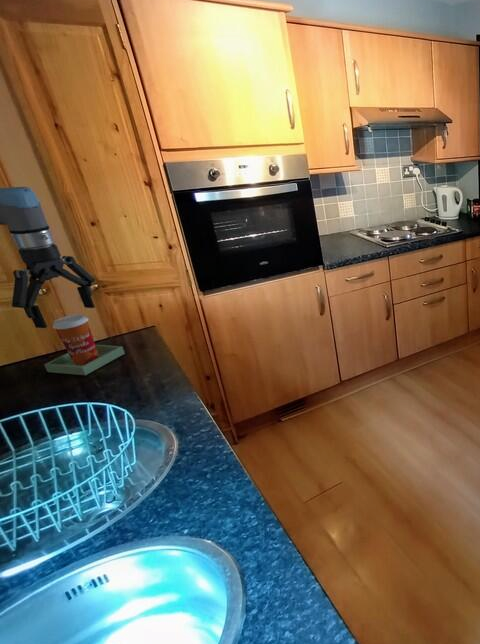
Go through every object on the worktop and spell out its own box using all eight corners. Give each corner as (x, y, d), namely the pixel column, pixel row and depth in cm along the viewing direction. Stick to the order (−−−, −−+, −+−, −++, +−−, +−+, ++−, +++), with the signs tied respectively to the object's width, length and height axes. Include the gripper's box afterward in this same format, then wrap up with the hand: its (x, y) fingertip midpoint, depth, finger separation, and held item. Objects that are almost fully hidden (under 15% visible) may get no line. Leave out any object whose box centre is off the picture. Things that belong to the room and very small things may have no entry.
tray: (47, 372, 132) (43, 364, 131) (89, 350, 143) (86, 343, 142) (85, 375, 130) (82, 367, 129) (125, 353, 142) (122, 346, 141)
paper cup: (69, 370, 131) (49, 327, 126) (70, 359, 137) (52, 318, 131) (104, 361, 136) (86, 319, 130) (104, 351, 141) (87, 311, 136)
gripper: (-6, 261, 110) (30, 337, 119) (94, 234, 133) (118, 300, 141) (-32, 259, 111) (6, 335, 119) (71, 233, 134) (97, 299, 142)
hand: (67, 316), depth 130 cm, fingers open, 13 cm apart
